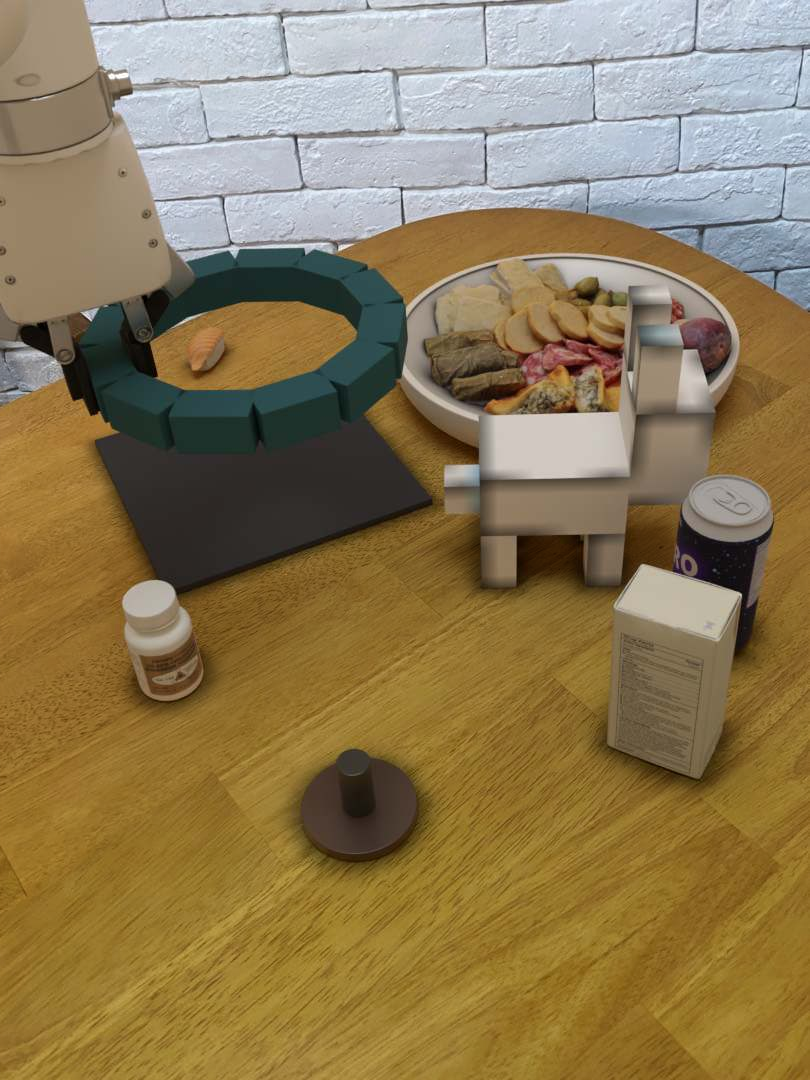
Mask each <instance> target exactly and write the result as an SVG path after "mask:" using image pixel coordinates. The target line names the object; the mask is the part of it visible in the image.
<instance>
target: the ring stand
mask: <svg viewBox="0 0 810 1080" xmlns="http://www.w3.org/2000/svg"><path fill="white" fill-rule="evenodd" d="M418 814H419V803H418V795H417V791H416V788H415V786H414V783H413V782H412V780H411V779H410V777H409V776H408V775H407V774H406V773H405V772H404V771H403V770H402V769H401V768H400V767H398V766H397V765H395V764H394V763H392V762H389V761H387V760H384V759H380V758H376V757H370V756H369V754H368V753H367V752H366V751H364V750H362V749H360V748H350V749H349V748H348V749H346V750H343V751H342V752H341V753H340V754H339V755H338V756H337V758H336V761H335V762H334V763H332V764H331V765H328V766H327V767H325V768H324V769H323V770H321V771H320V772H318V773H317V775H315V776H314V777H313V779H312V780H311V781H310V782H309V784H308V786H307V787H306V789H305V791H304V793H303V796H302V799H301V805H300V815H301V816H300V817H301V821H302V826H303V829H304V832H305V834H306V837H308V840H309V841H310V842H311V843H312V844H313V846H314V847H315V848H317V849H318V850H319V851H321V852H322V853H324V854H325V855H327V856H329V857H331V858H334V859H336V860H340V861H346V862H367V861H372V860H375V859H376V860H377V859H378V858H382V857H384V856H386V855H389V854H390V853H392V852H394V851H395V850H397V849H398V848H399V847H400V846H401V845H403V843H404V842H405V841H406V840H407V839H408V838H409V836H410V835H411V833H412V832H413V830H414V828H415V825H416V823H417V820H418Z"/></svg>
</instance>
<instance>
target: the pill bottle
mask: <svg viewBox="0 0 810 1080" xmlns="http://www.w3.org/2000/svg"><path fill="white" fill-rule="evenodd" d="M177 595H178V594H176V592H175V590H174V588H173V587H172V586H171V585H170V584H169V583H167V582H164V581H160V580H159V579H150V580H145V581H142V582H139V583H136V584H135V585H134V586H133V585H132V587H130V588H129V589H128V590H127V592H125V594H124V596H123V597H122V600H121V604H122V605H121V606H122V611H123V613H124V614H123V615H124V618H125V620H126V621H125V624H124V628H123V635H124V640H125V643H126V646H127V649H128V653H129V656H130V659H131V661H132V665H133V668H134V672H135V675H136V678H137V681H138V684H139V687H140V689H141V690H142V692H143V693H144V694H145V695H146V696H148V697H149V698H151V699H153V700H157V701H161V702H170V701H177V700H179V699H181V698H184V697H186V696H188V695H190V694H191V693H192V692H194V691H195V690H196V689H197V688H198V687H199V685H200V684H201V682H202V680H203V676H204V666H203V661H202V657H201V654H200V650H199V646H198V643H197V638H196V634H195V630H194V627H193V622H192V620H191V616H190V614H189V612H188V611H187V610H186V609H185V608H184V607H182V606H181V605H180V602H179V599H178V596H177Z"/></svg>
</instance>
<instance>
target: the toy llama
mask: <svg viewBox="0 0 810 1080" xmlns="http://www.w3.org/2000/svg"><path fill="white" fill-rule="evenodd" d="M671 312H672V301H671V297H670V294H669V290H668V286H667V285H643V286H628V298H627V311H626V324H625V337H624V350H623V363H622V376H621V388H620V401H619V412H599V413H562V414H525V415H488V416H478V420H479V448H478V464H445V465H444V473H443V474H444V476H443V493H444V495H443V496H444V513H445V515H464V514H465V515H471V514H473V515H475V514H479V520H480V522H479V523H480V524H479V525H480V564H481V565H480V567H481V568H480V571H481V589H511V588H512V589H516V588H517V539H518V537H519V536H522V537H524V536H527V537H528V536H569V535H571V536H572V535H574V536H575V535H579V541H580V542H583V555H582V558H583V559H582V567H583V576H584V584H585V587H621V585H622V584H621V583H622V575H623V574H622V573H623V562H624V551H625V541H626V528H627V519H628V518H627V517H628V507H631V506H632V507H633V506H637V507H638V506H677V505H678V506H679V505H682V503H683V502H684V500H685V499H686V498H687V497H688V496H689V492H690V490H691V488H692V487H693V486H694V485H695V483H697V482H698V481H700V480H702V479H704V478H707V477H708V469H709V463H710V455H711V448H712V442H713V435H714V427H715V423H716V422H715V421H716V414H717V411H716V409H715V407H714V404H713V401H712V398H711V394H710V391H709V387H708V384H707V380H706V377H705V374H704V370H703V367H702V363H701V360H700V356H699V353H698V350H697V349H693V350H683V348H684V344H683V341H682V337H681V333H680V330H679V326H678V324H670V321H671Z"/></svg>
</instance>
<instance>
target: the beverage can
mask: <svg viewBox="0 0 810 1080" xmlns="http://www.w3.org/2000/svg"><path fill="white" fill-rule="evenodd" d="M771 505H772V502H771V498H770V496H769V494H768V492H767V491H766V489H764V488H763V487H762V486H761V485H760V484H759V483H757V482H755V481H753V480H751V479H749V478H746V477H743V476H739V475H734V474H715V475H714V474H713V475H710V476H707V477H706V478H704V479H702V480H700V481H698V482H697V483H695V485H694V486H693V487H692V488H691V490H690V492H689V496H688V497H687V498H686V499H685V500H684V502H683V503H682V505H681V506H680V510H679V517H678V525H677V532H676V539H675V540H676V541H675V547H674V554H673V555H674V556H673V562H672V570H671V572H674V573H677V574H681V575H685V576H688V577H691V578H695V579H698V580H702V581H705V582H708V583H711V584H715V585H718V586H721V587H724V588H727V589H730V590H733V591H736V592H739V593H741V594H742V600H741V607H740V614H739V621H738V628H737V635H736V642H735V649H734V653H735V652H737V651H739V650H741V649H743V647H745V646H746V645H747V644H748V643H749V641H750V639H751V637H752V634H753V629H754V623H755V620H756V614H757V609H758V603H759V598H760V593H761V589H762V584H763V578H764V573H765V569H766V563H767V559H768V555H769V554H768V553H769V549H770V544H771V540H772V535H773V529H774V524H775V515H774V512H773V510H772V507H771Z"/></svg>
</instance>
